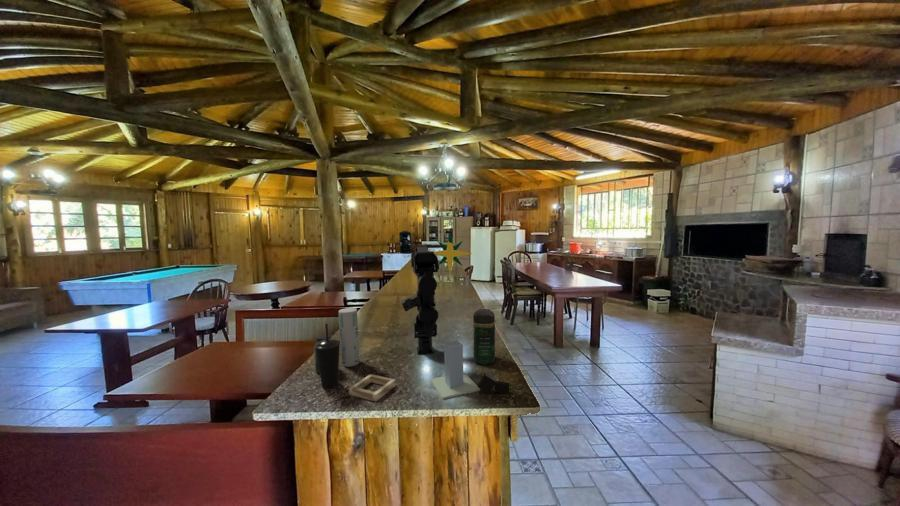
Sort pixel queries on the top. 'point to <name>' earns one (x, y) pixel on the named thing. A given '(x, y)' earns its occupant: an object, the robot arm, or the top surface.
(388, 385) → the pocket
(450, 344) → the post
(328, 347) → the drinking cup
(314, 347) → the supplement bottle
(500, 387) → the lighter
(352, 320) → the spray can
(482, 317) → the coffee jar
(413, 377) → the top surface
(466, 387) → the mat
